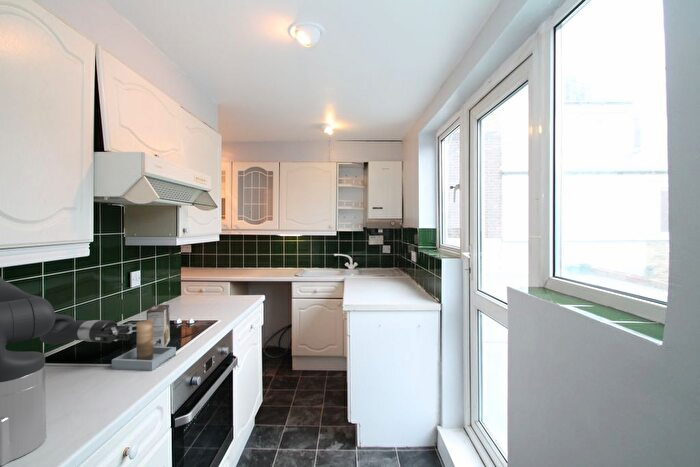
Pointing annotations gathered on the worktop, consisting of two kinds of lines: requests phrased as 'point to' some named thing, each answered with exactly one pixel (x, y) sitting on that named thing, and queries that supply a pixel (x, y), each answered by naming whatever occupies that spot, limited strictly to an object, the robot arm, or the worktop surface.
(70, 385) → the worktop surface
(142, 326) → the walnut dowel
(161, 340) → the coffee box
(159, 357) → the tray
